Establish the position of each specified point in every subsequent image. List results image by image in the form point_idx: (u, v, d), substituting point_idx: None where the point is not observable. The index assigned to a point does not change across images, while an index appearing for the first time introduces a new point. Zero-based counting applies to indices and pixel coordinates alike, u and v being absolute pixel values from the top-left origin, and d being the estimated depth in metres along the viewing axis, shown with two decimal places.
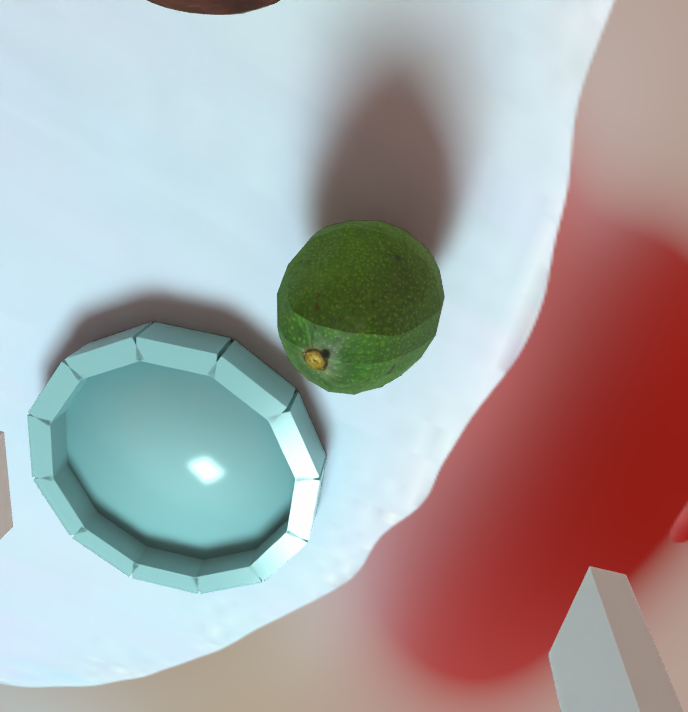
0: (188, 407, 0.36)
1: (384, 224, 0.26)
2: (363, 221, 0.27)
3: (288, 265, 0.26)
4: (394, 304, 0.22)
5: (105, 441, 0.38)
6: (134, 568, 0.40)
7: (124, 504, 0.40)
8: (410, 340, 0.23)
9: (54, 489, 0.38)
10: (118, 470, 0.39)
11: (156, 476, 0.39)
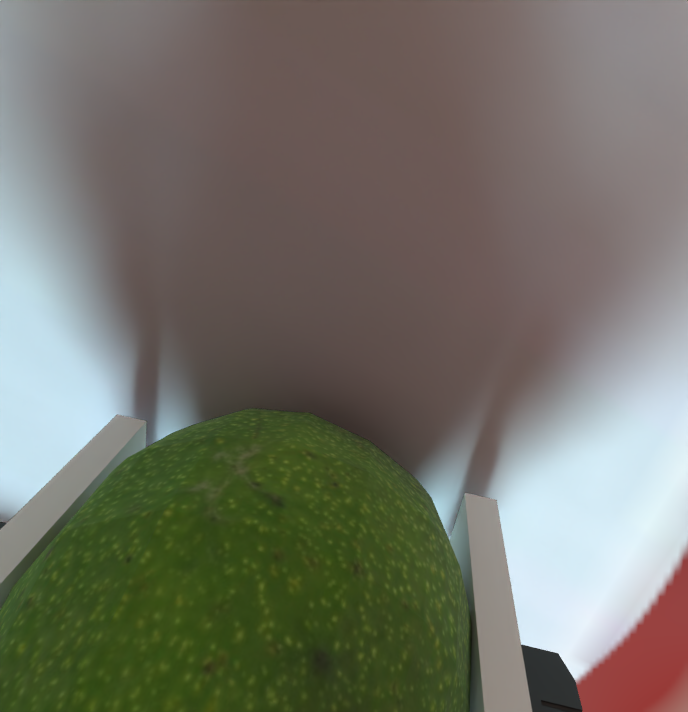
0: None
1: (301, 461, 0.09)
2: (241, 450, 0.09)
3: (8, 595, 0.09)
4: None
5: None
6: None
7: None
8: None
9: None
10: None
11: None
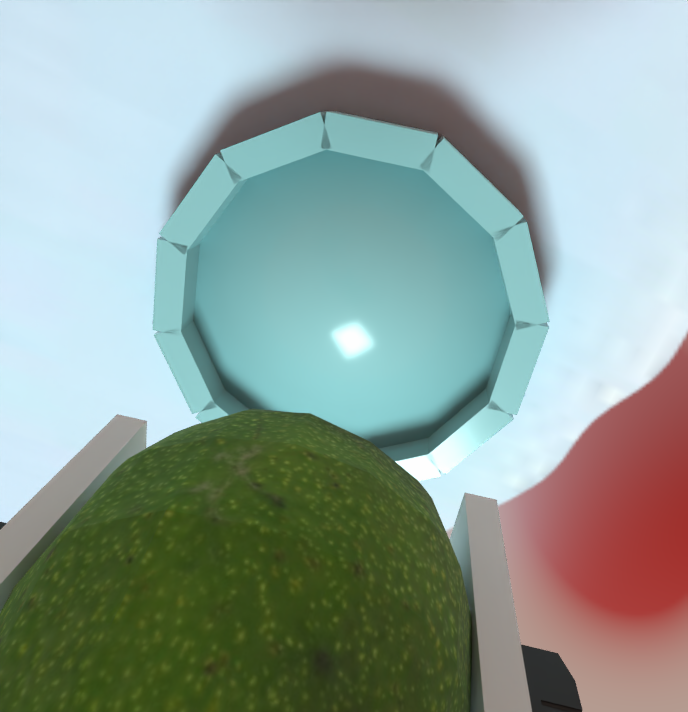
0: (369, 234, 0.28)
1: (302, 462, 0.09)
2: (242, 450, 0.09)
3: (9, 595, 0.09)
4: None
5: (248, 287, 0.30)
6: None
7: (261, 377, 0.32)
8: None
9: (180, 348, 0.30)
10: (260, 328, 0.30)
11: (309, 337, 0.30)
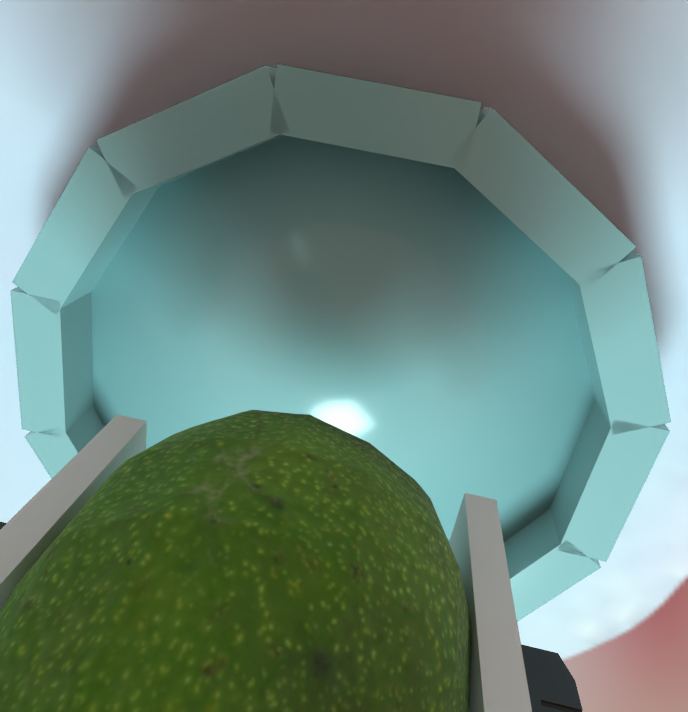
0: (361, 275, 0.17)
1: (301, 463, 0.09)
2: (241, 452, 0.09)
3: (8, 597, 0.09)
4: None
5: (172, 357, 0.19)
6: None
7: None
8: None
9: (67, 456, 0.19)
10: (195, 419, 0.20)
11: None
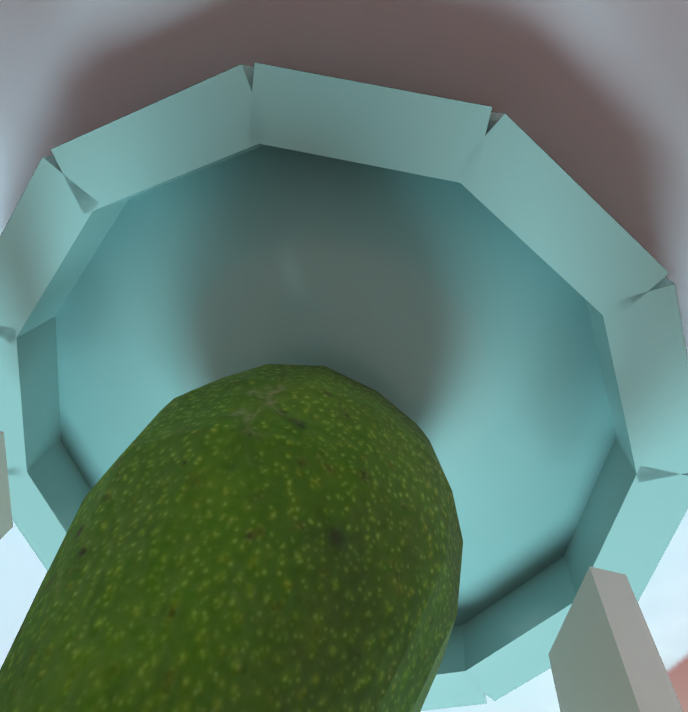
0: (354, 300, 0.15)
1: (319, 397, 0.11)
2: (269, 388, 0.11)
3: (81, 503, 0.11)
4: None
5: (145, 388, 0.17)
6: None
7: None
8: None
9: (30, 497, 0.17)
10: None
11: None
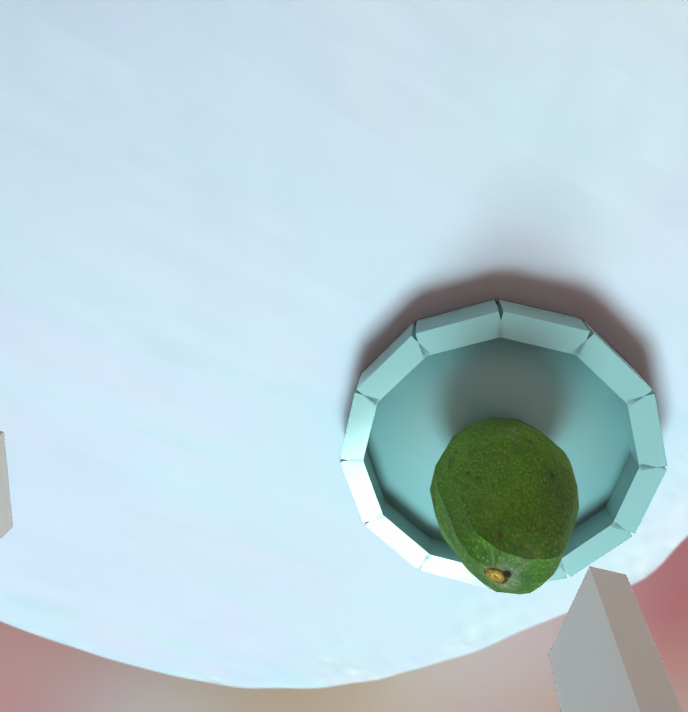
0: (520, 390, 0.35)
1: (529, 432, 0.31)
2: (511, 428, 0.31)
3: (449, 467, 0.31)
4: (557, 526, 0.27)
5: (415, 424, 0.37)
6: (425, 559, 0.39)
7: (417, 492, 0.39)
8: (565, 549, 0.28)
9: (360, 472, 0.37)
10: (421, 455, 0.38)
11: None
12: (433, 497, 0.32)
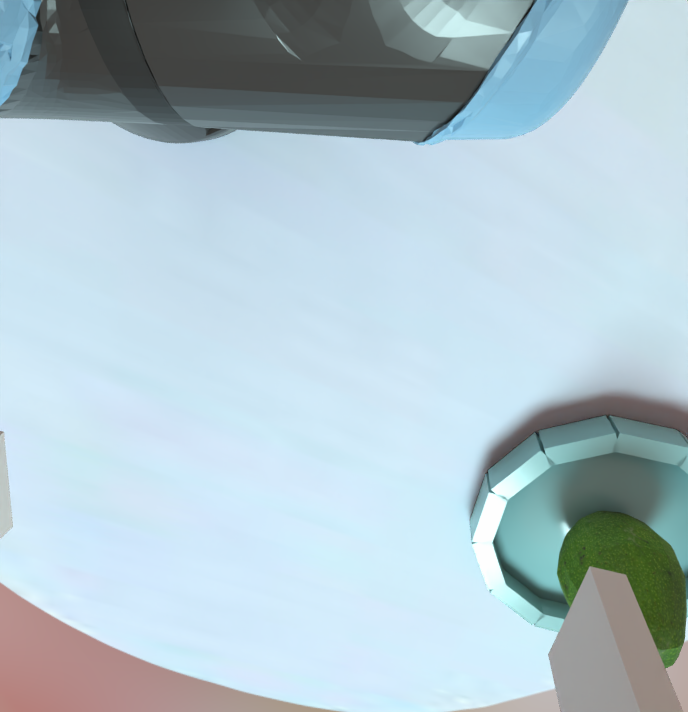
0: (625, 485, 0.43)
1: (643, 531, 0.39)
2: (628, 528, 0.39)
3: (581, 562, 0.38)
4: (680, 618, 0.35)
5: (533, 511, 0.45)
6: (540, 618, 0.47)
7: (531, 562, 0.47)
8: None
9: (489, 552, 0.45)
10: (537, 535, 0.45)
11: None
12: (563, 582, 0.40)
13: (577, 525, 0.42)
